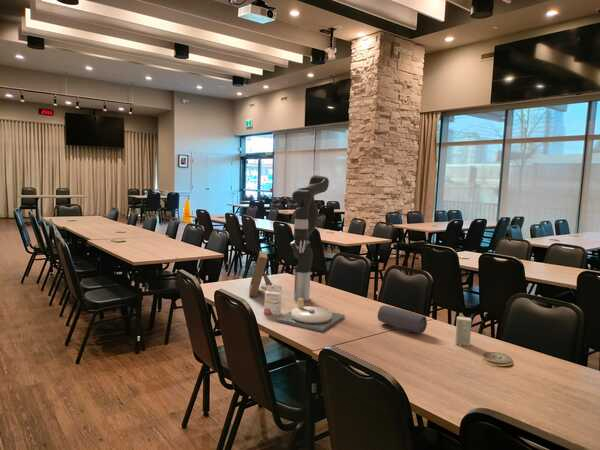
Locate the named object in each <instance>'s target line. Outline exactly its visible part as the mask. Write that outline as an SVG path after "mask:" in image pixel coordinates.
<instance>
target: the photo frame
mask: <svg viewBox="0 0 600 450" xmlns="http://www.w3.org/2000/svg"><path fill="white" fill-rule="evenodd" d="M267 261H268V254H267V251H263V250H259V253H258V256H257V260H256V263H255V267H254V269H253V273H252V277H251V281H250V284H249V293H248V294H249V295H248V296H250V297H253V298H257V297H258V293H259V289H260V285H261V282H262V279H263V280H264V282H265V285H266V287H267V285H273V283H272V281H271V280H270V278H269V277H268V275H267V273H266V271H265V268H266V264H267Z"/></svg>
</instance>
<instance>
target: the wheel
mask: <svg viewBox="0 0 600 450" xmlns="http://www.w3.org/2000/svg"><path fill="white" fill-rule="evenodd" d="M304 302H305V301H304V299H303V298H298V301H297V307H294V308H293V309H292V310H291V311H290V312H291V317H292V318H293V319H295V320H297V321H300V322H305V323H323V322H327V321H329V320H331V319H332V313H333V312H332V311H331V310H329V309H327V308H324V307H319V306H310V305H309V306H304Z"/></svg>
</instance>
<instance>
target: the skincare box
mask: <svg viewBox="0 0 600 450" xmlns="http://www.w3.org/2000/svg"><path fill="white" fill-rule="evenodd" d="M471 330H472V318H471V317H466V316H456V325H455V340H454V341H455V342H454V343H455V345H456V344H460V345H459V346H462V345H468V346H467V347H469V346H471V337H472V335H471V333H472V331H471Z"/></svg>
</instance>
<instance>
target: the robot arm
mask: <svg viewBox="0 0 600 450" xmlns="http://www.w3.org/2000/svg"><path fill="white" fill-rule="evenodd" d="M329 184H330V180H329V178H328V177H326V176H322V175H316V174H312V175H311V176H310V179H309V183H308V184H307V185H306V186H305V185H304V187H301V188H296V189H295V190H294V191H293V192H292V195H291V198H292V201H293V202H294V203H296V204H303V206H302V207H296V208H295V209H294V224H293V225H294V227H293V240H292V241H291V242H289V245H290V247H291V248H292V250H293V255H294V257H295V258H296V259H297V260H298V262H297V265H295V267H294V286H293V287H294V288H293V289H294V290H293V300H295V301H297V302H298V298H303V299H304V302H308V301H310V295H311V293H310V292H311V269H312V266H313V260H314V259H313V257H314V252H313V248H312V247H311V245H312V242H311V241H309V239H310V236H311V234H312V233H313V232H314V230H315V228H316V226H317V225H318V220H319V217H320V216H319V215H320V214H319V210H318V206H317V204H316V202H315V201H316V200H315V196H316V195H319V194H321V193H325V192H326V191H328V189H329Z"/></svg>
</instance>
